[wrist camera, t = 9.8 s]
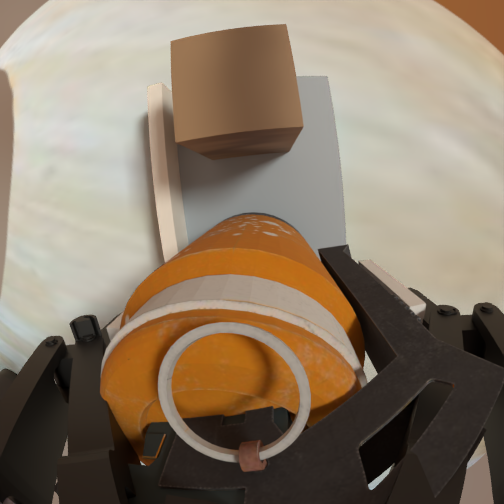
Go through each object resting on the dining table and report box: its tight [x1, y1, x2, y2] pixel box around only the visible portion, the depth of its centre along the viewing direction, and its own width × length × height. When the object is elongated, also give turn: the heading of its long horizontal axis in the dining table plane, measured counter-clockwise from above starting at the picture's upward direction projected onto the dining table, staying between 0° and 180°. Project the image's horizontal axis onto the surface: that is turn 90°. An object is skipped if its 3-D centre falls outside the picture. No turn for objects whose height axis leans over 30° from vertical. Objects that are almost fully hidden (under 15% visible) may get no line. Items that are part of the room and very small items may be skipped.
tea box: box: [171, 24, 304, 160], centre depth 15 cm, size 6×6×9 cm
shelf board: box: [147, 76, 346, 263], centre depth 21 cm, size 14×24×4 cm, turn 6°
